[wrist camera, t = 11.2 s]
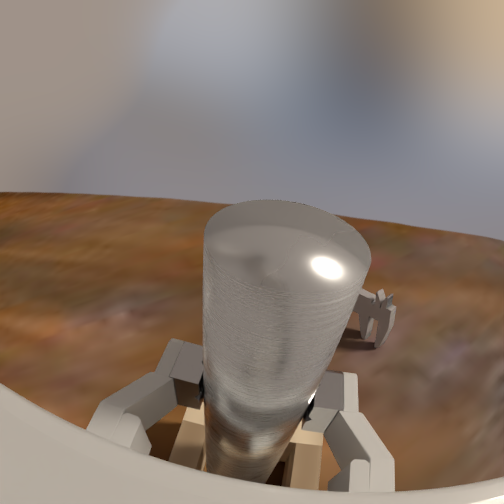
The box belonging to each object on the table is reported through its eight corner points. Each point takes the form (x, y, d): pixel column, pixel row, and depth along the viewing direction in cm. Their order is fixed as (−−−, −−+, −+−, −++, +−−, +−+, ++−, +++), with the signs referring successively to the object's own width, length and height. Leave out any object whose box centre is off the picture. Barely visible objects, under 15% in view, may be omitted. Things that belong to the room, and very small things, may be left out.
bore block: (159, 526, 15) (147, 518, 12) (193, 423, 22) (190, 399, 20) (295, 552, 14) (309, 549, 12) (310, 445, 21) (323, 423, 19)
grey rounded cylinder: (199, 486, 14) (178, 270, 6) (214, 434, 17) (227, 190, 9) (265, 499, 14) (382, 308, 5) (274, 445, 17) (361, 215, 8)
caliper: (382, 346, 30) (405, 301, 27) (376, 351, 30) (399, 306, 26) (260, 249, 43) (265, 206, 40) (253, 251, 43) (259, 208, 39)
